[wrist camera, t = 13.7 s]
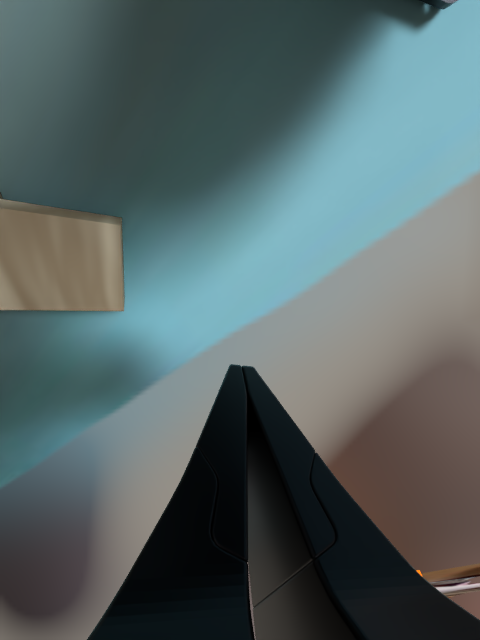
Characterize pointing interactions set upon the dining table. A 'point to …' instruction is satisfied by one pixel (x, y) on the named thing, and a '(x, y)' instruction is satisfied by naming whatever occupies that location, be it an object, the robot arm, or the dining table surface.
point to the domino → (59, 259)
